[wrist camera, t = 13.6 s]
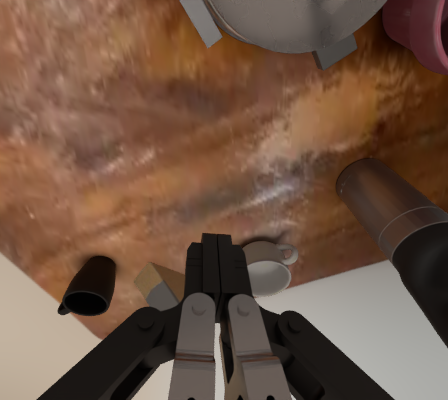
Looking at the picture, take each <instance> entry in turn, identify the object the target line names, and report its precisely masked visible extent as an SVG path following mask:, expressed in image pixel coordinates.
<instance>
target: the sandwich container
mask: <svg viewBox="0 0 448 400" xmlns="http://www.w3.org/2000/svg"><path fill="white" fill-rule="evenodd" d="M134 283H135V284H136V286H137V287H138V289H139V290H140V292H141V293H142V295H143V297H144V298H145V300H146V301H147V303H148V304H149V306H150V307H154V308H157V309H158V310H160V311H164V310H167V309H170V308H173V307H175V306H176V305H178V304H179V303H180V302H181V300H182V299H183V297H184V284H185V275H184V274H181V273H179V272H176V271H173V270H171V269H168V268H165V267H162V266H160V265H157V264H154V263H151V262H149V263H148V264H147V265H146V266H145V267H144V268H143V269H142V271H141V272H140V273H139V275H138V276H137V277H136V279H135V280H134Z"/></svg>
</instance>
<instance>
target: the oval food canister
mask: <svg viewBox="0 0 448 400" xmlns="http://www.w3.org/2000/svg"><path fill="white" fill-rule="evenodd" d="M179 1H180V2H181V4H182V6H183V7H184V9H185V11H186V12H187V14H188V16H189V17H190V19H191V21H192V22H193V24H194V26H195V27H196V29H197V31H198V33H199V34H200V36H201V38H202V39H203V41H204V43H205V44H206V46H207V48H209V47H210V46H212V45H213V44H214V43H215V42H217V41H218V40H219V39H221V38H222V35H221V34H220V32H219V30H218V28H217V26H216V25H215V23H216V24H217V25H218V26H219V27H220V28H221V29H223V30H224V31H225V32H226V33H228V34H229V35H231V36H232V37H234V38H236V39H238V40H240V41H243V42H246V43H249V44H254V43H252V42H250V41H248V40H246V39H245V38H243V37H242V36H241V35H239V34H238V33H236V32H235V31H234V30H233V29H232V28H231V27H230V26H229V25H228V24H227V23H226V22H225V21H224V20H223V18H222V17H221V16H220V15H219V13H218V12H217V11H216V9H215V8H214V6H213V4H212V3H211V1H210V0H179ZM213 20H214V21H215V23H214V21H213ZM255 45H256V44H255ZM356 49H357V45H356V42H355V38H354V35H353V33H352V34H350V35H349V36H347V37H345V38H344V39H342V40H340V41H339V42H337V43H334V44H332V45H330V46H328V47H325V48H322V49H319V50H315V51H312V55H313V57H314V60H315V62H316V65H317V68H318V69H321V70H323V71H324V70H325V69H327V68H328V67H330V66H331V65H333V64H334V63H336V62H337V61H339V60H340V59H342V58H343V57H345V56H347V55H348V54H350V53H351V52H353V51H354V50H356Z"/></svg>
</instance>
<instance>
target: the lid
mask: <svg viewBox="0 0 448 400" xmlns="http://www.w3.org/2000/svg"><path fill="white" fill-rule="evenodd" d="M210 1H211V3H212V4H213V6H214V8H215V9H216V11H217V12H218V13H219V15H220V16H221V17H222V18H223V20H224V21H225V22H226V23H227V24H228V25H229V26H230V27H231V28H232V29H233V30H234V31H235V32H236V33H238V34H239V35H241V36H242V37H243V38H245V39H246V40H248V41H250V42H252V43H254V44H256V45H258V46H260V47H262V48H265V49H268V50H271V51H275V52H281V53H305V52H312V51H315V50H319V49H322V48H325V47H328V46H330V45H332V44H334V43H337V42H339V41H340V40H342V39H344V38H345V37H347V36H349V35H350V34H352V33H353V32H355V31H356V30H357V29H359V28H360V27H361V26H362V25H364V24H365V23H366V22H367V21H368V20H369V19H370V18H371V17H372V16H373V15H375V14H376V13H377V12H378V10H379V9H380V8H381V7H382V6H383V5H384V4H385V3H386V1H387V0H210Z"/></svg>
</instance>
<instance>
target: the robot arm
mask: <svg viewBox="0 0 448 400" xmlns="http://www.w3.org/2000/svg"><path fill="white" fill-rule="evenodd" d="M336 191H337V193H338V195H339V197H340V198H341V199H342V200H343V202H344V203H345V204H346V205H347V207H348V208H349V209H350V211H351V212H352V213H353V215H354V216H355V217H356V218H357V220H358V221H359V222H360V224H361V225H362V226H363V227H364V229H365V230H366V231H367V232H368V234H369V235H370V236H371V238H372V239H373V240H374V241H375V243H376V244H377V245H378V247H379V248H380V249H381V250H382V252H383V253H384V254H385V255H386V257H387V258H388V259H389V260H390V262H391V263H392V264H393V266H394V267H395V268H396V269H397V271H398V272H399V274H400V277H401V280H402V282H403V284H404V286H405V287H406V289H407V290H408V291H409V293H410V294H411V295H412V297H413V298H414V300H415V301H416V303H417V304H418V305H419V307H420V308H421V310H422V311H423V312H424V314H425V316H426V317H427V318H428V320H429V321H430V323H431V325H432V326H433V328H434V329H435V330H436V332H437V334H438V335H439V336H440V338H441V339H442V341H443V342H444V343H445V345H446V346H447V348H448V214H447V213H446V212H444V211H443V210H442V209H440V208H439V207H438V206H436V205H435V204H434V203H433V202H431V201H430V200H429V199H428V198H427V197H426V196H425V195H423V194H422V193H421V192H419V191H418V190H417V189H416V188H414V187H413V186H412V185H411V184H409V183H408V182H407V181H405V180H404V179H403V178H402V177H400V176H399V175H398V174H397V173H395V172H394V171H393V170H391V169H390V168H388V167H387V166H386V165H384V164H383V163H382V162H381V161H379V160H376V159H363V160H359V161H357V162H355V163H353V164H351V165H350V166H348V167H347V168H346V169H345V170H344V171H343V172H342V173H341V175H340V176H339V178H338V181H337V184H336ZM215 323H220V328H221V333H220V336H219V344H220V352H221V358H222V359H221V360H222V368H223V375H224V384H225V396H224V400H292V398H291V394H292V395H293V396H294V397H295V398H296V400H394V399H393V398H392V397H391V396H390V395H389V394H388V393H387V392H386V391H385V390H384V389H382V388H381V387H380V386H379V385H378V384H377V383H376V382H375V381H374V380H373V379H371V378H370V377H369V376H368V375H367V374H366V373H365V372H364V371H363V370H362V369H360V368H359V367H358V366H357V365H356V364H355V363H354V362H353V361H352V360H350V359H349V358H348V357H347V356H346V355H345V354H344V353H343V352H342V351H341V350H340V349H338V348H337V347H336V346H335V345H334V344H333V343H332V342H331V341H330V340H329V339H328V338H326V337H325V336H324V335H323V334H322V333H321V332H320V331H319V330H318V329H316V328H315V327H314V326H313V325H312V324H311V323H310V322H309V321H308V320H307V319H305V318H304V317H303V316H302V315H301V314H299V313H297V312H295V311H285V312H283V313H282V314H281V315H279V314H276V313H273V312H270V311H268V310H265V309H264V308H262V307H261V306H259V305H258V304H257V302H256V301H255V299H254V297H253V294H252V289H251V283H250V278H249V272H248V267H247V263H246V256H245V252H244V251H243V249H242V248H241V246H240V245H232V239H231V235H226V234H217V235H216V234H210V233H202V239H201V243H194V242H192V243H191V245H190V246H189V248H188V250H187V259H186V269H185V284H184V297H183V299H182V300H181V302H180V303H179V304H178V305H176V306H175V307H173V308H170V309H167V310H164V311H160V310H158V309H157V308H154V307H143V308H140V309H138V310H136V311H135V312H134V313H133V314H132V315H131V316H129V317H128V318H127V319H126V320H125V321H124V322H123V323H122V324H120V325H119V326H118V327H117V328H116V329H115V330H114V331H113V332H112V333H110V334H109V335H108V336H107V337H106V338H105V339H104V340H103V341H101V342H100V343H99V344H98V345H97V346H96V347H95V348H94V349H93V350H91V351H90V352H89V353H88V354H87V355H86V356H85V357H84V358H82V359H81V360H80V361H79V362H78V363H77V364H76V365H75V366H73V367H72V368H71V369H70V370H69V371H68V372H67V373H66V374H65V375H63V376H62V377H61V378H60V379H59V380H58V381H57V382H56V383H55V384H54V385H52V386H51V387H50V388H49V389H48V390H47V391H46V392H44V393H43V394H42V395H41V396H40V397H39V398H38V399H37V400H131V399H132V398H133V397H134V395H135V394H136V393H137V392H138V391H139V390H140V388H141V387H142V386H143V385H144V384H145V382H146V381H147V380H148V379H149V378H150V376H151V375H152V374H153V373H154V372H155V371H156V369H157V368H158V367H159V366H160V364H162V363H165V362H168V361H170V360H173V359H174V364H173V370H172V377H171V383H170V390H169V397H168V400H215V359H214V337H215ZM290 393H291V394H290Z"/></svg>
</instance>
